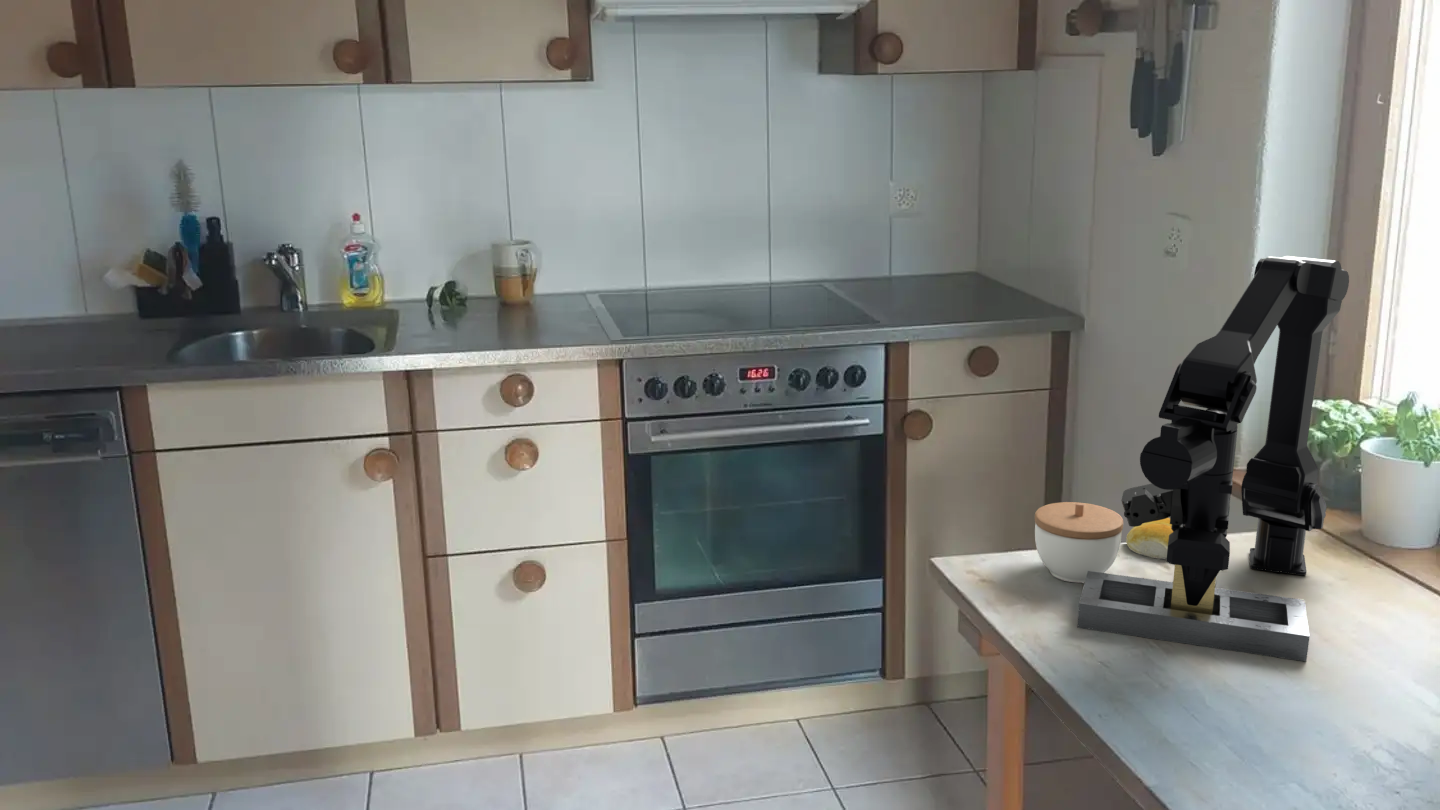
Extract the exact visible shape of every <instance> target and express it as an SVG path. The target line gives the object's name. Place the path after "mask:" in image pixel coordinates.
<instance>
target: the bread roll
mask: <svg viewBox="0 0 1440 810" xmlns="http://www.w3.org/2000/svg"><path fill="white" fill-rule="evenodd" d="M1171 526H1172V524H1170V517H1168V518H1166V519H1162V520H1157V521H1152V522H1147V523H1143V524H1142V525H1141V526H1136V527H1131V529H1130V530H1129V532H1128V533H1127V534H1126V538H1125V542H1126V545H1127V547H1128V548H1129V550H1131V551H1132V552H1134V553H1136V554H1137V555H1140V556H1143V557H1144V556H1145V557H1147V558H1152V559H1158V560H1167V549H1168V540H1169V535H1170V534H1171V533H1173V531H1172V529H1171Z"/></svg>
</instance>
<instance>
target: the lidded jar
mask: <svg viewBox="0 0 1440 810" xmlns="http://www.w3.org/2000/svg"><path fill="white" fill-rule="evenodd" d="M1034 523H1035V527H1034V539H1035V542H1034V543H1035V546H1036V552H1037V554H1038V556H1039V558H1040V560H1041V562H1042V564H1043V565H1044V566H1045V567H1046V568H1047V569H1048V570H1049V573H1050V574H1051V575H1052V576H1053V577H1054V578H1056V579H1058V580H1060V581H1065V582H1067V583H1068V582H1070V583H1074V584H1075V583H1077V584H1078V583H1079V584H1084V583H1085V580H1086V576H1087V573H1088V571H1093V572H1100V573H1107V571H1108V570H1109V569H1110V568H1111V567H1112V566H1113V564H1114V562H1115V560H1116V558H1117V557H1118V555H1119V552H1120V551H1119V550H1120V547H1121V541H1122V532H1123V528H1124V519H1123V517H1122V516H1121V515H1120V514H1119V513H1118V512H1116V511H1115V510H1112V509H1110V508H1107V507H1105V506H1101V505H1097V504H1093V503H1084V502H1078V501H1077V502H1075V501H1073V502H1072V501H1071V502H1070V501H1064V502H1063V501H1062V502H1052V503H1049V504H1046V505H1042V506H1040V507H1039V508H1037V510H1036V511H1035V513H1034Z"/></svg>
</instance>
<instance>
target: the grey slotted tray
mask: <svg viewBox="0 0 1440 810" xmlns="http://www.w3.org/2000/svg"><path fill="white" fill-rule="evenodd" d="M1172 589H1173V581H1166V580H1161V579H1160V580H1159V579H1158V580H1157V579H1151V578H1144V577H1137V576H1136V577H1135V576H1128V575H1122V574H1113V573H1107V572H1105V573H1100V572H1093V571H1088V573H1087V576H1086V580H1085V583H1083V587H1082V591H1081V595H1080V599H1079V602H1078V610H1077V611H1078V612H1077V613H1078V614H1077V623H1076V624H1077V625H1076V627H1077V628H1080V629H1085V630H1092V631H1099V632H1104V633H1105V632H1106V633H1111V634H1113V633H1114V634H1120V635H1126V636H1133V637H1139V638H1140V637H1141V638H1145V639H1146V638H1147V639H1154V640H1159V641H1167V642H1171V643H1172V642H1173V643H1180V644H1184V645H1185V644H1187V645H1193V646H1199V647H1205V648H1213V649H1219V650H1227V651H1232V652H1239V653H1244V654H1245V653H1246V654H1251V655H1261V656H1266V657H1273V658H1280V659H1286V660H1294V661H1301V662H1307V661H1308V654H1309V653H1308V652H1309V644H1310V628H1309V623H1308V622H1309V621H1308V614H1307V608H1306V607H1307V606H1306V600H1305V599H1301V598H1295V597H1294V598H1293V597H1287V596H1280V595H1279V596H1278V595H1272V594H1271V595H1270V594H1264V593H1256V592H1251V591H1250V592H1248V591H1243V590H1242V591H1241V590H1233V589H1225V588H1220V587H1215V592H1214V601H1213V611H1212V615H1208V614H1201V613H1194V612H1187V611H1180V610H1173V609H1171V600H1172Z"/></svg>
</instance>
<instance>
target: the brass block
mask: <svg viewBox="0 0 1440 810" xmlns="http://www.w3.org/2000/svg"><path fill="white" fill-rule="evenodd" d="M1173 569H1174V570H1173V578H1172V579H1173V581H1172V582H1173V589H1172V600H1171V609H1173V610H1180V611H1187V612H1194V613H1201V614H1208V615H1212V611H1213V601H1214V592H1215V588H1216V581H1217V576H1216V577H1215V579H1214V580H1213V582H1212V583H1211V585H1210V586H1209V588H1208V590H1207V591H1206V593H1205V594H1204V596H1203V597H1202V599H1201V601H1200V602H1199V604H1198V605H1197V606H1192V605H1188V604H1187V600H1186V593H1185V586H1184V579H1183V572H1182V566H1181V565H1174V568H1173Z"/></svg>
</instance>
